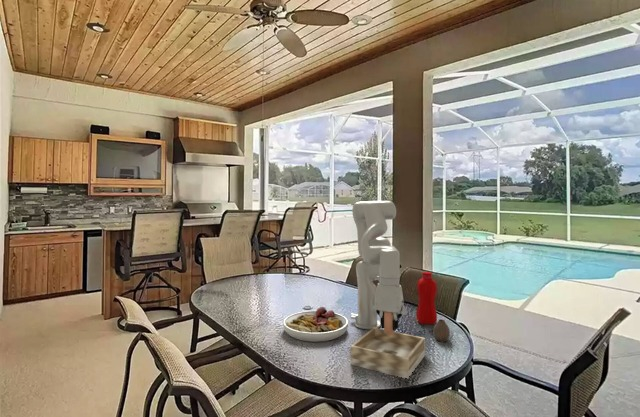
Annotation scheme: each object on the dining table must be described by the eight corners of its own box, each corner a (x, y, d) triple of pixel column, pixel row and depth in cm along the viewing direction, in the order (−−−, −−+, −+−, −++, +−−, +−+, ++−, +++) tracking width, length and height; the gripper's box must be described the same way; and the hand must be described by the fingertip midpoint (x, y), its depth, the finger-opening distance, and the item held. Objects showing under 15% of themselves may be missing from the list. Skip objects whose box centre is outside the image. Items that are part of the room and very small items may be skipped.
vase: (446, 336, 168) (446, 317, 167) (452, 343, 161) (452, 322, 160) (430, 336, 168) (431, 317, 167) (436, 343, 161) (436, 323, 160)
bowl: (342, 347, 157) (342, 329, 157) (274, 341, 163) (274, 323, 163) (351, 322, 186) (351, 307, 186) (293, 318, 193) (293, 303, 192)
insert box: (350, 364, 141) (350, 346, 141) (373, 343, 160) (373, 327, 160) (407, 379, 130) (408, 359, 130) (425, 355, 149) (425, 337, 149)
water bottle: (433, 317, 192) (434, 269, 191) (437, 325, 182) (438, 274, 180) (415, 317, 193) (415, 269, 192) (418, 324, 182) (419, 273, 181)
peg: (382, 333, 143) (382, 307, 143) (386, 330, 147) (386, 304, 147) (392, 335, 141) (392, 308, 141) (396, 331, 145) (396, 306, 144)
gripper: (365, 280, 145) (365, 327, 145) (407, 285, 136) (407, 335, 137) (372, 277, 151) (372, 322, 152) (414, 281, 142) (413, 329, 143)
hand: (389, 328), depth 144 cm, fingers closed on peg, 4 cm apart
